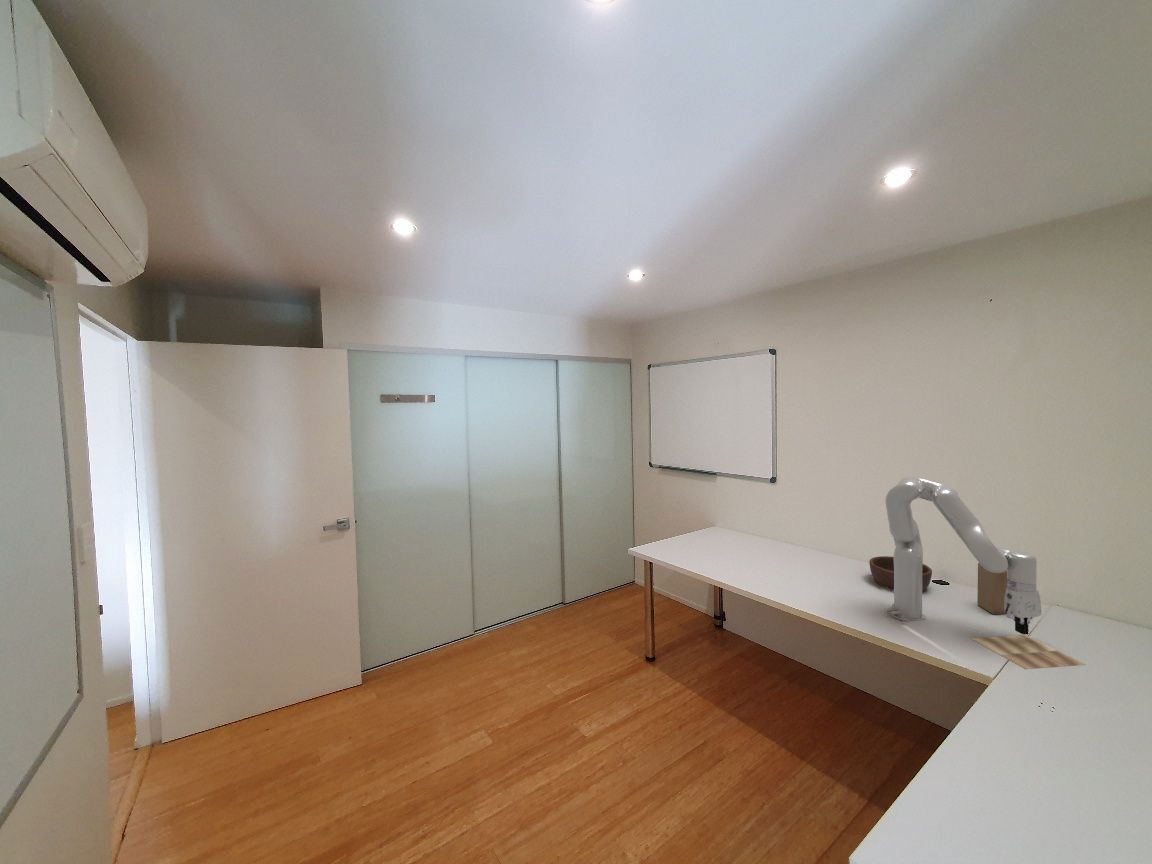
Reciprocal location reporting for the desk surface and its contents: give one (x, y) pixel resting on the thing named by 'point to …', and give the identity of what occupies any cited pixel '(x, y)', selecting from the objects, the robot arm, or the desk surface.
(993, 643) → the board
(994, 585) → the wooden block
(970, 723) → the desk surface
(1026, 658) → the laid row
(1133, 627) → the desk surface
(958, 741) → the desk surface
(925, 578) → the wooden bowl
